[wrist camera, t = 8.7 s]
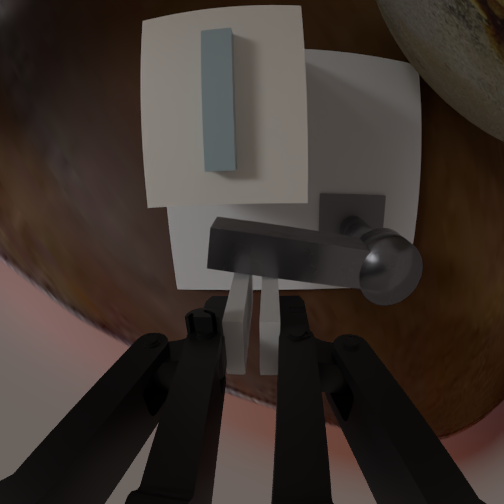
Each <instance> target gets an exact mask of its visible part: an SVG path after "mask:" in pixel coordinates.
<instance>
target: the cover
mask: <svg viewBox="0 0 504 504" xmlns="http://www.w3.org/2000/svg"><path fill="white" fill-rule="evenodd" d="M141 124H142V144H143V159H144V172H145V184H146V194H147V203H148V208H153V207H171V206H192V205H218V204H260V203H308V126H307V92H306V69H305V52H304V36H303V23H302V11H301V6H294V5H252V6H234V7H222V8H212V9H204V10H196V11H190V12H184V13H178V14H172V15H167V16H162V17H158V18H153V19H149V20H145V21H143V23H142V41H141Z"/></svg>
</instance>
